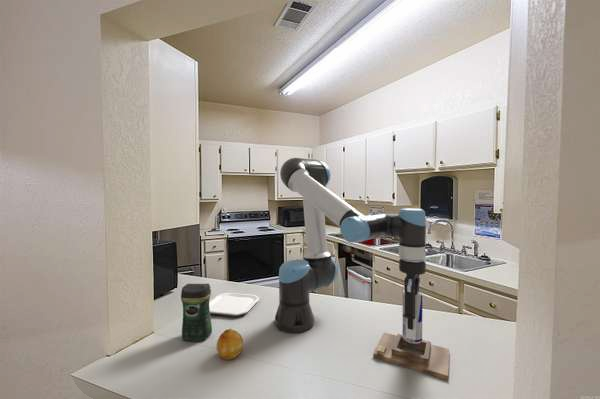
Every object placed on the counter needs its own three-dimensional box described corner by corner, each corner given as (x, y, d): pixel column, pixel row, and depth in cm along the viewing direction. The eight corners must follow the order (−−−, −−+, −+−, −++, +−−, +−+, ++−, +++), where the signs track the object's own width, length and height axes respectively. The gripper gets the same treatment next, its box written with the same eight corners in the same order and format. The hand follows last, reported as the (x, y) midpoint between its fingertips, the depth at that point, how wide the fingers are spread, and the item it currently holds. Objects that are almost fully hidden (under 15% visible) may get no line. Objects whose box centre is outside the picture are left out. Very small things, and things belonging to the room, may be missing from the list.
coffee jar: (214, 330, 97) (213, 280, 97) (206, 342, 89) (205, 288, 89) (188, 330, 98) (187, 280, 97) (178, 342, 90) (177, 288, 89)
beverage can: (424, 345, 78) (424, 295, 78) (404, 344, 79) (404, 294, 79) (419, 335, 84) (419, 288, 83) (400, 334, 85) (400, 287, 84)
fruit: (207, 347, 82) (217, 329, 80) (228, 338, 89) (237, 320, 87) (221, 370, 78) (232, 351, 76) (242, 358, 85) (252, 340, 83)
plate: (197, 315, 110) (197, 310, 110) (222, 296, 130) (222, 291, 130) (243, 320, 105) (243, 315, 105) (262, 299, 126) (262, 295, 125)
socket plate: (373, 357, 81) (373, 347, 81) (383, 335, 93) (383, 327, 93) (448, 380, 71) (448, 369, 71) (449, 352, 83) (449, 343, 83)
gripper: (422, 268, 71) (422, 352, 72) (428, 254, 87) (428, 324, 88) (393, 264, 75) (393, 345, 76) (404, 251, 91) (404, 318, 91)
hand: (412, 333), depth 82 cm, fingers closed on beverage can, 5 cm apart
